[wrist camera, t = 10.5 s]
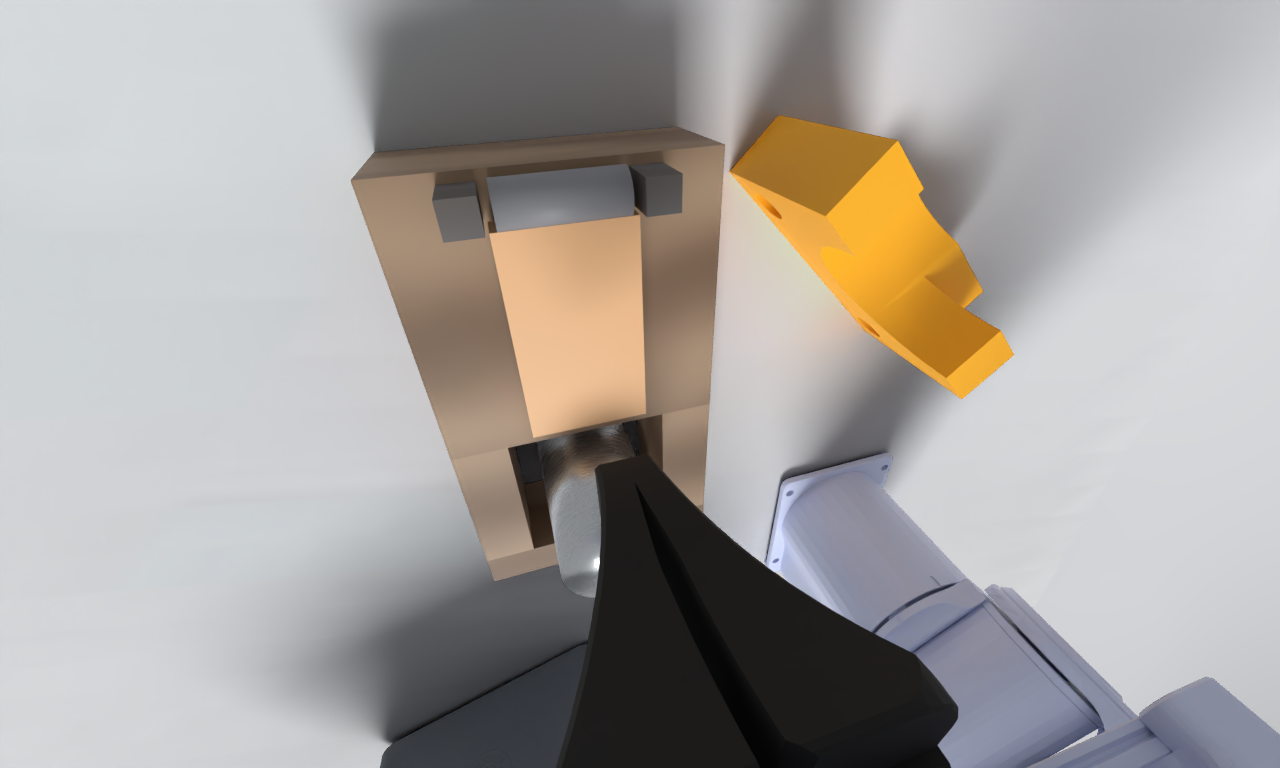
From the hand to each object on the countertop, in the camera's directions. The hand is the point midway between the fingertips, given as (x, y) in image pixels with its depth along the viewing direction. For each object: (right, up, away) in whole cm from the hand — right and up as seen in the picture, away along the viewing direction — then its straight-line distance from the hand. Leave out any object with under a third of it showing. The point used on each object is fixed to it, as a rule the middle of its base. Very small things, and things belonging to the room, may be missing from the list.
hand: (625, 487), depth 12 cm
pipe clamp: (+9, +10, +10) cm, 17 cm away
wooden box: (-3, +4, +9) cm, 10 cm away
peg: (-3, +1, +11) cm, 12 cm away
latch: (-2, +5, +3) cm, 6 cm away
